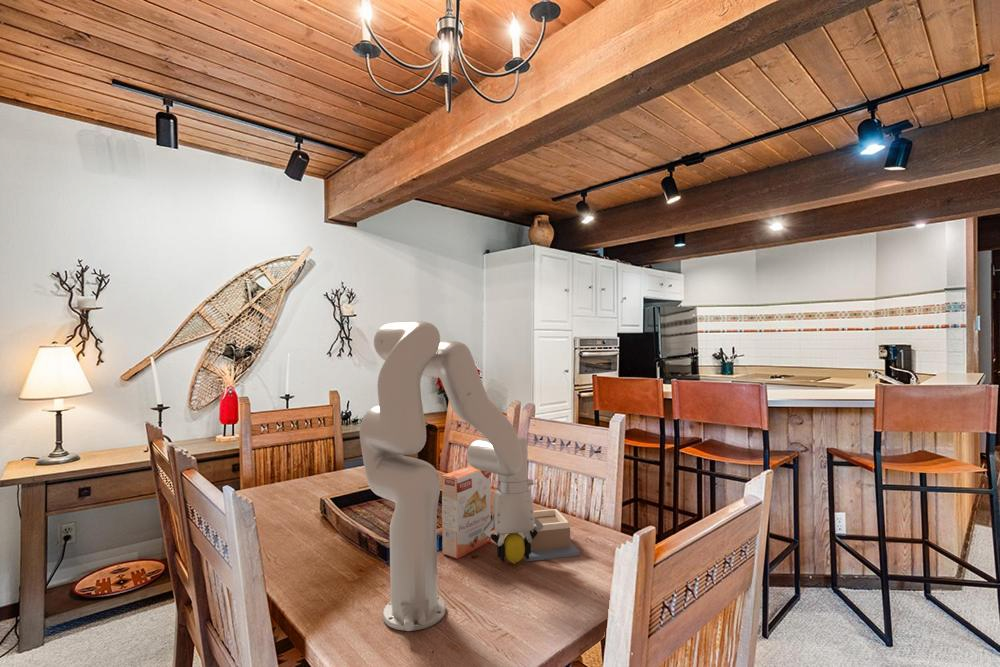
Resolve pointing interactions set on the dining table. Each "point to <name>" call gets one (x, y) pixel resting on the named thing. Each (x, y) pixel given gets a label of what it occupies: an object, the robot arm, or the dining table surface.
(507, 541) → the lemon
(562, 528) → the stand
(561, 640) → the dining table surface
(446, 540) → the cracker box
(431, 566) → the robot arm
